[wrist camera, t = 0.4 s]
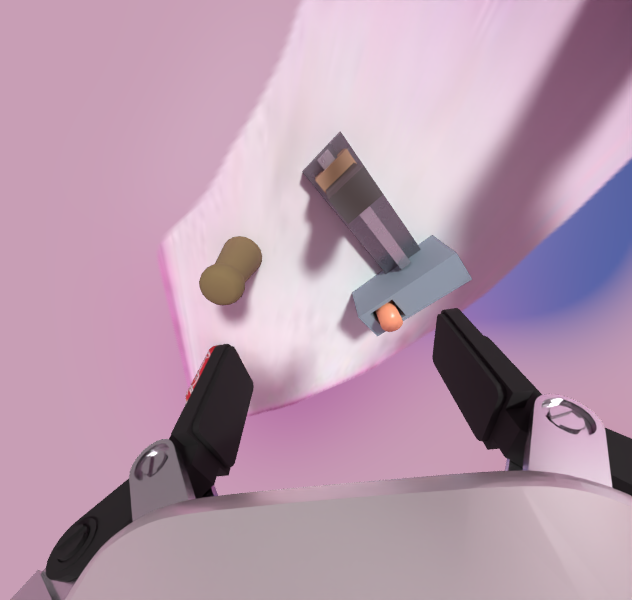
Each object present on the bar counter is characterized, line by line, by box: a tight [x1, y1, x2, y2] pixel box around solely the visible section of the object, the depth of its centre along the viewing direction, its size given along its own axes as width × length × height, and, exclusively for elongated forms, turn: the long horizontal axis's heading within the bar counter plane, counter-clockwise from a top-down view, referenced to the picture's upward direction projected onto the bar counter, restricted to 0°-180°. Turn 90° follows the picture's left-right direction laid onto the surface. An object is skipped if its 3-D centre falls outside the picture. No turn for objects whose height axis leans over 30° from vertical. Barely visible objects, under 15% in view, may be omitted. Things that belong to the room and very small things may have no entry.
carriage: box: [315, 149, 383, 224], centre depth 25 cm, size 4×6×9 cm
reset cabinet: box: [352, 235, 472, 336], centre depth 35 cm, size 15×5×7 cm, turn 132°
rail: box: [303, 132, 421, 274], centre depth 31 cm, size 6×19×4 cm, turn 42°
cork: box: [199, 236, 262, 305], centre depth 31 cm, size 6×6×11 cm
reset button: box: [375, 300, 403, 332], centre depth 34 cm, size 3×3×6 cm
